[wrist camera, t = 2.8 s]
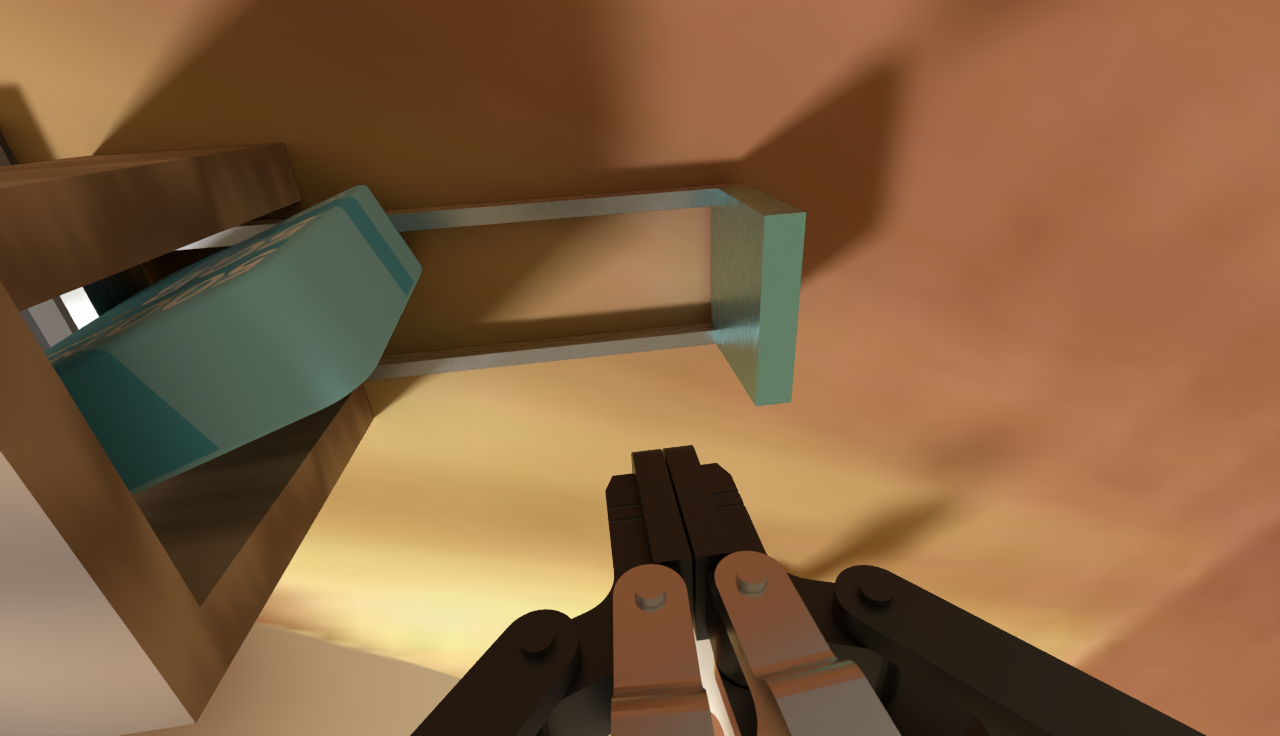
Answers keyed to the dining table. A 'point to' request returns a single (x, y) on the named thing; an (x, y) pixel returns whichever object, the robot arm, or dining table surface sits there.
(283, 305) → the data package
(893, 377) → the dining table surface
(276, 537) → the wooden arch
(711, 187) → the frame
